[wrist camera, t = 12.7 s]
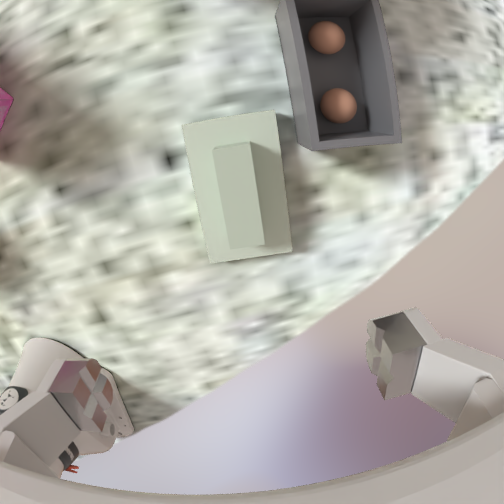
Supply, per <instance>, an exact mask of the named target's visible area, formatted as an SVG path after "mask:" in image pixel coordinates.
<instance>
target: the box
mask: <svg viewBox="0 0 504 504" xmlns="http://www.w3.org/2000/svg"><path fill="white" fill-rule="evenodd" d="M275 18H276V22H277V27H278V32H279V37H280V42H281V47H282V52H283V58H284V63H285V68H286V74H287V80H288V85H289V91H290V97H291V103H292V109H293V116H294V122H295V129H296V135H297V142H298V144H300V145H301V146H303V147H305V148H307V149H309V150H311V151H317V150H326V149H335V148H345V147H355V146H367V145H379V144H394V143H402V137H401V125H400V115H399V106H398V98H397V91H396V84H395V77H394V71H393V65H392V59H391V53H390V48H389V43H388V38H387V34H386V29H385V24H384V20H383V16H382V12H381V8H380V4H379V0H280V3H279V6H278V9H277V12H276V15H275ZM321 21H330V22H333V23H335V24H337V25H338V26H340V28H341V29H342V30H343V32H344V34H345V44H344V46H343V48H342V49H341V50H340V51H338V52H336V53H334V54H323V53H320V52H318V51H316V50H315V49H314V48H313V47H312V46H311V44H310V42H309V39H308V33H309V30H310V28H311V27H312V26H313V25H314V24H316V23H317V22H321ZM334 88H341V89H344V90H347V91H348V92H350V93H351V94H352V95H353V97H354V98H355V100H356V103H357V111H356V114H355V116H354V117H353V118H352V119H351V120H350V121H348V122H346V123H340V124H339V123H334V122H331V121H329V120H328V119H327V118H326V117H325V116H324V115H323V113H322V111H321V108H320V102H321V98H322V96H323V95H324V94H325V93H326V92H327V91H329V90H331V89H334Z"/></svg>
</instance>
